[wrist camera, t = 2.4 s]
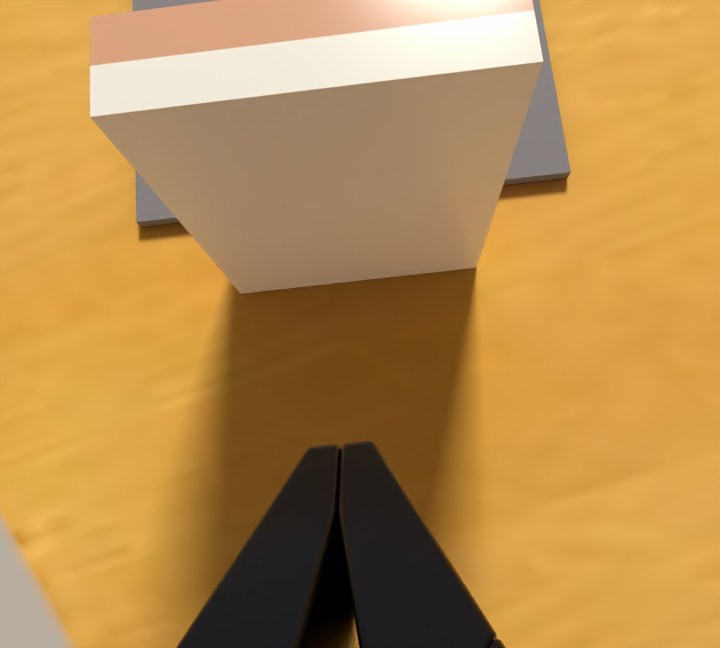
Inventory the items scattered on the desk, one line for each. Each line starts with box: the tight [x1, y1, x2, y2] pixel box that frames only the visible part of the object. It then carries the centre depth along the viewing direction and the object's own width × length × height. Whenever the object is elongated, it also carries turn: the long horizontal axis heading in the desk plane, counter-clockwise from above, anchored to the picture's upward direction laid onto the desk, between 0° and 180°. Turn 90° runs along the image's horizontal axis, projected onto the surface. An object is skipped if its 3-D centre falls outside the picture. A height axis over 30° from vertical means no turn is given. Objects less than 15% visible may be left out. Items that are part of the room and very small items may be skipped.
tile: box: [90, 0, 543, 294], centre depth 16 cm, size 2×7×10 cm, turn 95°
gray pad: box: [133, 0, 570, 227], centre depth 22 cm, size 12×13×1 cm
